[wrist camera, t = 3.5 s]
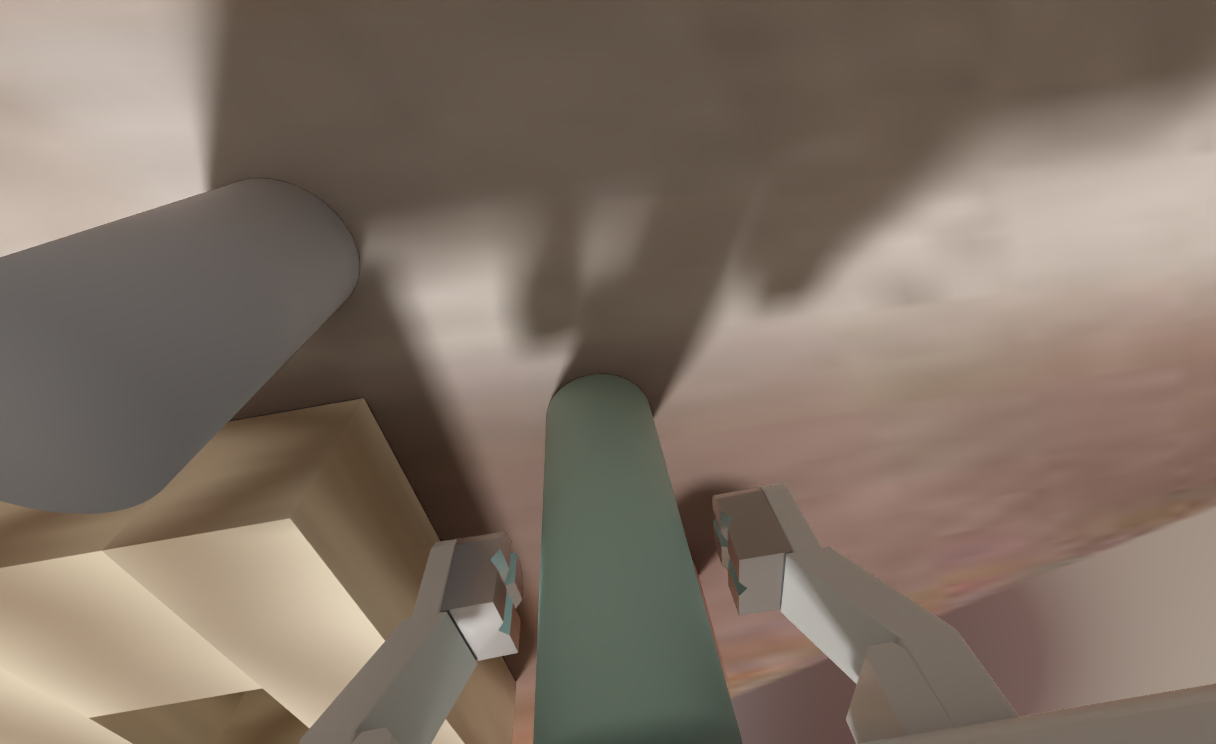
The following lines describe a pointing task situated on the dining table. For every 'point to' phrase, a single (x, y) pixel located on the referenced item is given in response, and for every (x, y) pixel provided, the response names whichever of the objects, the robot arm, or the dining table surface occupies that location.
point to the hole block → (224, 595)
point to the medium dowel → (155, 337)
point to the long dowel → (619, 585)
